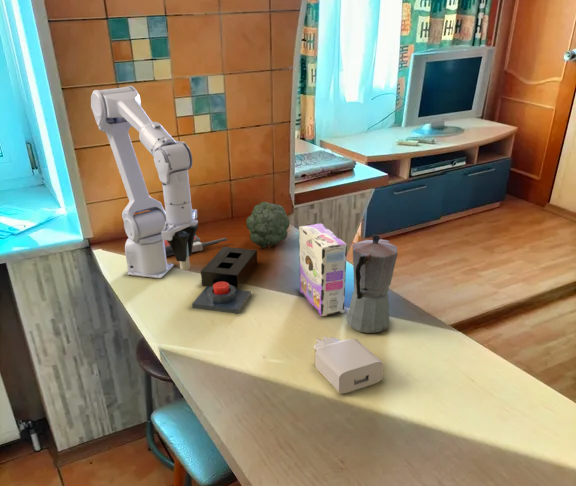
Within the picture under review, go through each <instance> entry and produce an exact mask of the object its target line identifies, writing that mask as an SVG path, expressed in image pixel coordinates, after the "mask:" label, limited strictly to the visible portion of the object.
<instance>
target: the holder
mask: <svg viewBox="0 0 576 486" xmlns="http://www.w3.org/2000/svg"><path fill="white" fill-rule="evenodd" d="M257 265H258V250H257V249H250V248H241V247H240V248H239V247H229V246H223V247H221V248H220V249H219V251H218V252H217V253H216V254H215V255H214V256H213V257H212V258H211V259H210V260H209V261H208V262H207V264H206V265H204V267H203V268H202V269H201V271H200V279H201V287H205V288H206V287H207V286H209V287H211V286H213V285H214V284H215V283H216V282H227V283H228V284H229V285H232V286H234V287H235V288H236V290H240V288H241V287H242V285H243V284H244V283H245V281H246V280H247V279H248V277H249V276H250V275H251V274H252V273H253V270H254V269H255V268H256V267H257Z"/></svg>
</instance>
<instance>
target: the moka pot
mask: <svg viewBox="0 0 576 486" xmlns="http://www.w3.org/2000/svg"><path fill="white" fill-rule="evenodd" d="M398 256H399V255H398V247H397V246H396V245H394V244H393V243H390V240H387V239H382V238H381V236H380V235H379V234H372V239H363V240H361V241H357V242H353V244H352V266H353V269H352V271H353V292H352V296H351V301H350V304H349V308H348V313H347V317H346V323H347V324H348V326H349V327H350V328H351V329H352V330H355V331H357V332H359V333H365V334H366V333H367V334H371V333H380V332H383V331H386V330H387V329H388V327H389V326H390V325H389V324H390V311H389V289H390V287H391V285H392V280H393V275H394V270H395V266H396V263H397V258H398Z"/></svg>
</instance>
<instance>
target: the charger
mask: <svg viewBox="0 0 576 486" xmlns="http://www.w3.org/2000/svg"><path fill="white" fill-rule="evenodd" d="M315 340H316V343H315V344H314V345H313V346H312V347H313V349H314V350H315V355H314V356H315V357H314V360H315V361H314V362H315V363H314V364H315V365H314V367H315V369H316V370H317V371H318V372H319V373H320V374H321V375H322V376H323V377H324V378H325V379H326V381H328V383H329V384H330V385H331V386H332V387H333V388H334V389H335V390H336V391H337V392H338V393H339V394H347V393H350V392H351V393H352V392H355V391H356V390H360V389H362V388H366V387H369V386H372V385H376V384H377V383H380V381H382V379H383V375H384V362H383V361H382V360H381V359H380V358H379V357H377V356H376V355H375V354H374V353H373V352H372V351H370V350H369V349H368V348H367V347H366V346H365V345H364V344H362V342H361V341H360V340H358V339H357V338H346V339H343V340H339V338H336V337H332V336H330V337H327V336H326V335H324V336H323V339H320V338H318V337H317V338H316V339H315Z"/></svg>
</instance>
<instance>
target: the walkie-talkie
mask: <svg viewBox="0 0 576 486" xmlns="http://www.w3.org/2000/svg"><path fill="white" fill-rule="evenodd" d="M226 241H228V239H227V238H226V237H223V238H219V239H215V240H211V241H205V242H201V238H200V237H198V236H197V234H196V233H195V236H194V241H193V247H192V253H197V252H202V251H203V249H204V248H206V247H209V246H213V245H217V244H219V243H222V242H226ZM164 244H165V252H166V257H170V256H175V255H174V253H173V250H172V248H171V246H170V244H169V243H168V241H167V240H164Z"/></svg>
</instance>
